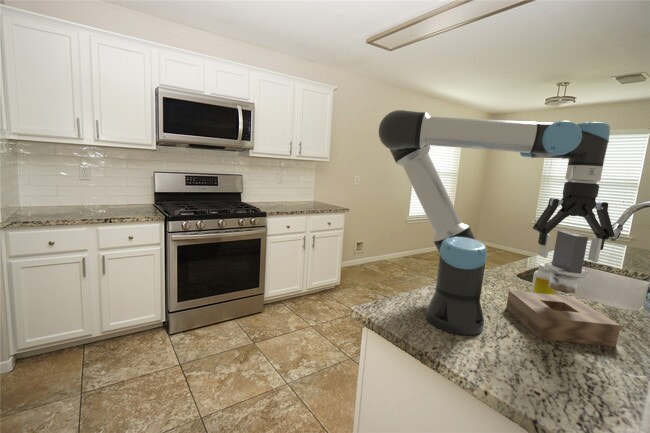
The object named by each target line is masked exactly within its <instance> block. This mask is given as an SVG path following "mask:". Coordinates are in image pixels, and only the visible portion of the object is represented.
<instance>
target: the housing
mask: <svg viewBox="0 0 650 433" xmlns="http://www.w3.org/2000/svg"><path fill="white" fill-rule="evenodd" d="M506 310H507V311H509V313H511V314H512V315H513V316H514V317H515V318H516V319H517V320H518V321H519V322H521V324H523V326H525V327H526V328H527V330H529V331H530V332H531V333H532V334H533V335H534V336H535V337H536V338H537V339H539V340H547V341H557V342H567V343H575V344H585V345H593V346H602V347H612V348H617V344H618V339H619V334H620V331H621V325H620V324H619V323H618V322H616V321H614V320H613V319H611V318H609V317H607V316H606V315H604V314H602V313H601V312H599V311H597V310H596V309H594V308H593V307H591V306H589V305H587V304H586V303H584V302H582V301H581V300H579V299H577V298H575V297H574V296H568V295H560V294H554V295H551V294H541V293H531V291H521V290H520V291H518V290H508V295H507V301H506Z"/></svg>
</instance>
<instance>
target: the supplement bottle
mask: <svg viewBox="0 0 650 433" xmlns="http://www.w3.org/2000/svg"><path fill="white" fill-rule="evenodd" d="M545 264H546V263H539V264H538V267H537V268H538V270H535V271H534V273H533V276H532V283H531V288H530V292H531V293H541V294H551V295H555V291H556V290H554V289H552V288H550V287H549V280H550V275H551V272H549V271H547V270H545V269H544V265H545Z"/></svg>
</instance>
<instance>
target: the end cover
mask: <svg viewBox="0 0 650 433" xmlns="http://www.w3.org/2000/svg"><path fill="white" fill-rule="evenodd" d="M588 239H589V236H585V235H581V234H578V233H575V232H573V231H572V232H571V231H566V230H565V231H564V230H557V233H556V239H555V244H554V250H553V255H552V260H551V261H552V262H550V263H549V262H547V263H544V264H545V265H544V269H545V270H547V271H549V272H551V275H550V280H549V287H550V288H552V289H554V290H555V291H557V292H561V293H566V294H576V293H577V290H578V289H577V288H578V284H579V280H580V279H587V278H588V277H589V272H588V271H587V270H585V269H583V266H584V261H585V255H586V250H587V245H588V241H589V240H588Z"/></svg>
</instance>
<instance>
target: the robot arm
mask: <svg viewBox="0 0 650 433" xmlns="http://www.w3.org/2000/svg"><path fill="white" fill-rule="evenodd" d="M610 133H611V127H610V124H608V123H607V122H600V121H589V122H579V123H575V122H573V121H570V120H559V121H555V122H544V121H543V122H539V121H525V120H524V121H522V120H521V121H520V120H503V119H502V120H501V119H488V118H487V119H485V118H464V117H445V116H444V117H443V116H431V115H430V114H429V113H428V112H424V111H414V110H413V111H412V110H402V109H399V110H393V111H391V112H389V113H387V114H386V115H385V116H384V117H383V118H382V120H381V121H380V123H379V126H378V137H379V140H380V142H381V143H382V145H383V146H384V147H385V148H387V149H389V151H390V153H391V155H392V157H393V159H394V162H395V164H396V165H399V166H401V167H402V168H403V169H404V171H405V173H406V176H407V178H408V180H409V183H410V184H411V187H412V188H413V190H414V192H415V195H416V197H417V199H418V201H419V203H420V204H421V207H422V209H423V211H424V213H425V215H426V218H427V220H428V221H429V224H430V226H431V227H432V230H433V232H434V236H433V238H432V241H433V244H434V245H435V248H436V249H437V251H438V254H439V259H438V268H437V275H436V276H437V277H436V282H435V291H434V294H433V296H432V297H431V300H430V302H429V304H428V305H427V307H426V314H425V318H426V320H427V321H428V322H429V324H431V325H432V326H434V327H436V328H438V329H440V330H442V331H444V332H448V333H451V334H455V335H461V336H462V335H463V336H474V335H475V336H476V335H478V334H480V333H482V332H483V331H484V324H485V319H484V314H483V310H482V308H483V307H482V305H481V296H482V289H483V284H484V283H483V282H484V277H485V276H484V275H485V268H486V262H487V260H488V249H487V246H486V244H484V243H482V242H481V241H479V240H477V239H476V238H475V235H474V232H473V231H472V229H471V227H470V226H469V224H466V223H463V222H462V221H461V218H460V217H459V215H458V212H457V210H456V209H455V207H454V204H453V202H452V200H451V198H450V195H449V194H448V192H447V190H446V188H445V185H444V184H443V182H442V181H443V180H441V177H440V175H439V173H438V171H437V170H436V167H435V165H434V163H433V161H432V159H431V157H430V154H429V152H430V149H431V146H434V147H446V148H462V149H473V150H485V151H501V152H511V153H512V152H513V153H519V155H520V156H521V157H523V158H524V157H525V158H532V159H535V158H537V159H538V158H539V159H562V160H565V159H566V160H568V162H567V166H566V167H567V168H566V173H565V177H564V179H565V180H566V181H565V183H563V184H564V185H563V190H562V198H561V199H560V198H556V197H555V198H554V197H551V198H549V199H548V203H547V206H546V208H545V209H544V210H543V212H542V213H541V215H540V217H538V219H537V221H536V222H535V224H534V225H533V227H532V229H533V230H534V231H536V232H539V237H538V242H537V243H538V244H539V245H540V246H539V253H538V255H539V256H540V257H542V258H544V259H545V258H546V259H547V258H548V255H549V248H550V244H551V237H552V235H551V234H549V233H550V232H551V231H552V230H553V229H555V228H556V227H557V226H558V225H559V224H560V223H562V222H563V221H564V220H565V219H566V218H568V217H582V218H583V219H584V220H585V221H586V222H587V224H588V225H589V227H590V229H591V230H592V232H593V234H594V236H592V237H591V242H590V246H589V252H588V256H587V260H589V261H591V262H593V263H599V257H600V252H601V251H603V249H604V246H605V241H607V240H609V239H610V238H614V237H615V231H614V228H613V223H612V221H611V218H610V215H609V214H610V213H609V202H607V201H606V202H605V201H601V200H600V201H596V199H597V197H598V195H599V192H600V191H599V190H600V187H601V186H600V184H598V183H599V182H601V178H602V174H603V170H604V169H603V168H604V163H605V159H606V154H607V149H608V145H609V142H610ZM559 206H561V208H560V209H558V207H559ZM557 209H558V211H557V212H556V210H557ZM594 209H595V210H596V214H597V217H598V219H597V218H596V214H595V213H594ZM555 212H556V214H555V215H554V213H555Z"/></svg>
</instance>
